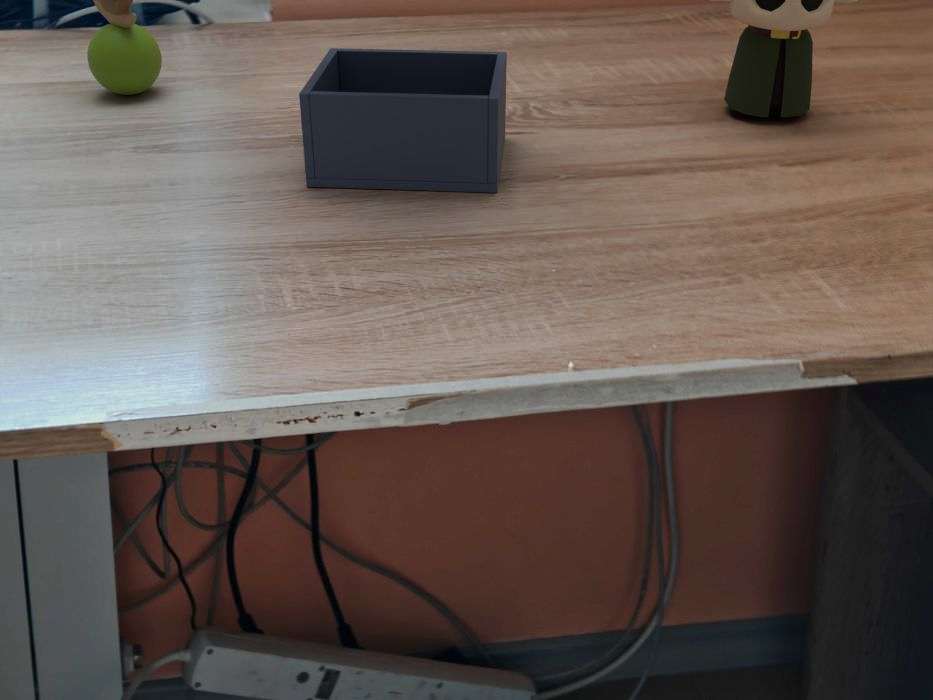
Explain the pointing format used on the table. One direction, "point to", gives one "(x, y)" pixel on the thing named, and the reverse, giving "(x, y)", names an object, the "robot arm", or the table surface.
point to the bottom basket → (405, 120)
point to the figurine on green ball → (123, 51)
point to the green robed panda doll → (774, 55)
